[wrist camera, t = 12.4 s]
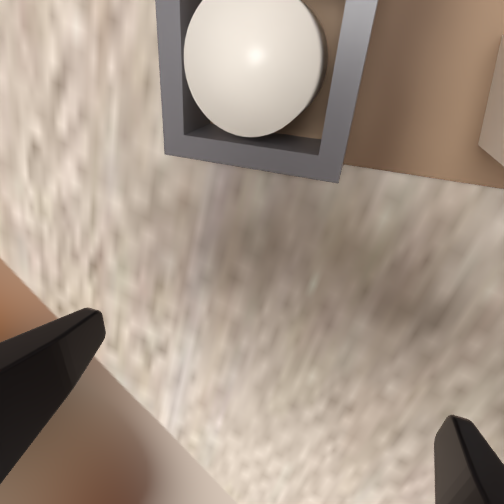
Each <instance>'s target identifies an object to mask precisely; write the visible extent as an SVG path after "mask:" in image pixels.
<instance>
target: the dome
mask: <svg viewBox="0 0 504 504" xmlns="http://www.w3.org/2000/svg"><path fill="white" fill-rule="evenodd" d="M327 63H328V48H327V41H326V37H325V33H324V31H323V28H322V25H321V23H320V22H319V20H318V18H317V16H316V15H315V14H314V12H313V11H312V10H311V9H310V8H309V7H308V6H307V5H306V4H305V3H304V2H302V1H301V0H203V1H202V2H201V3H200V5H199V6H198V8H197V9H196V11H195V13H194V15H193V17H192V19H191V21H190V24H189V27H188V30H187V34H186V38H185V45H184V68H185V74H186V79H187V82H188V86H189V89H190V91H191V94H192V96H193V98H194V100H195V102H196V103H197V105H198V106H199V108H200V109H201V111H202V112H203V113H204V114H205V115H206V117H207V118H208V119H209V120H210V121H212V122H213V123H214V124H215V125H217V126H218V127H219V128H221V129H223V130H225V131H227V132H229V133H232V134H234V135H238V136H243V137H260V136H264V135H268V134H271V133H274V132H276V131H278V130H280V129H281V128H283V127H284V126H286V125H287V124H289V123H290V122H291V121H292V120H293V119H294V118H296V117H297V116H298V115H299V114H300V113H301V112H303V111H304V110H305V109H306V108H307V107H308V106H309V105H310V104H311V103H312V101H313V100H314V99H315V97H316V96H317V94H318V93H319V91H320V89H321V87H322V84H323V81H324V78H325V75H326V70H327Z"/></svg>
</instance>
